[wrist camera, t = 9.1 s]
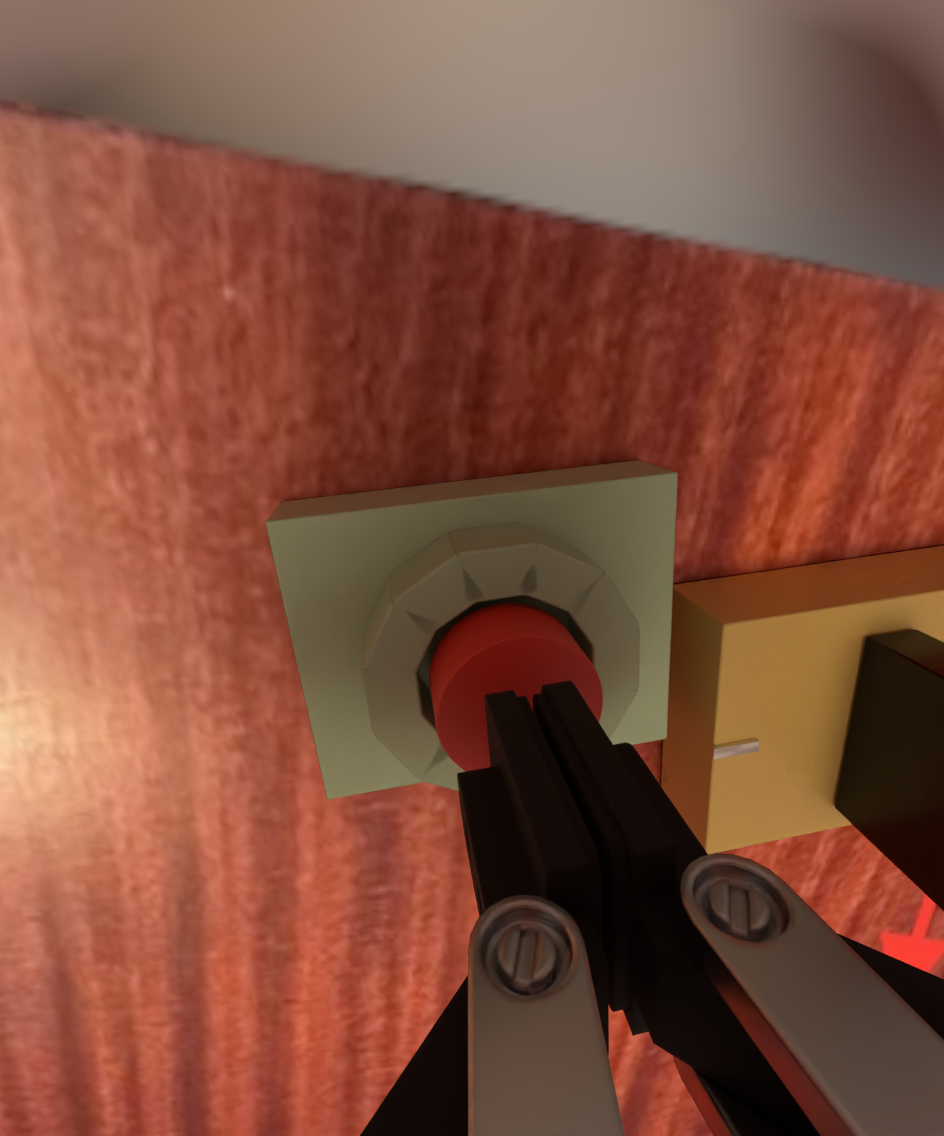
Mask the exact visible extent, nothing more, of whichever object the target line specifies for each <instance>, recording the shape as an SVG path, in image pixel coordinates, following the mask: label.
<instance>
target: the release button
mask: <svg viewBox="0 0 944 1136" xmlns="http://www.w3.org/2000/svg"><path fill="white" fill-rule="evenodd" d="M563 681H572V682H573V683H574V685H575V686H576V688H577V689H578V691H579V692H580V694H581V696H582V697H583V699H584V700H585V702H586V703H587V705H588V706H589V708H590V710H591V711H592V713H593V714H594V716H595V717H596V719H597V720H598V722H599V721H600V718H601V713H602V707H603V692H602V686H601V682H600V678H599V676H598V674H597V671H596V670H595V668H594V666H593V665H592V663H591V662H590V660H589V659H588V658H587V656H586V655H585V653H584V652H583V651H582V649H581V648H580V647H579V645H578V644H577V643H576V641H575V640H574V638H573V637H572V636H571V634H570V633H569V632H568V630H567V629H566V628H565V627H564V625H563V624H562V623H561V622H560V621H559V620H558V619H556V618H555V617H554V616H552V615H551V614H549V613H548V612H546V611H544V610H542V609H540V608H537V607H534V606H531V605H526V604H520V603H503V604H496V605H491V606H487V607H484V608H481V609H479V610H477V611H474V612H472V613H470V614H469V615H467V616H465V617H464V618H462V619H461V620H460V621H458V622H457V623H456V624H455V625H453V627H452V628H451V629H450V630H449V631H448V632H447V633H446V634H445V635H444V637H443V638H442V639H441V641H440V642H439V644H438V646H437V648H436V650H435V652H434V655H433V657H432V661H431V665H430V672H429V683H430V691H431V697H432V704H433V710H434V716H435V723H436V728H437V733H438V737H439V740H440V742H441V745H442V747H443V748H444V750H445V752H446V753H447V755H448V756H449V757H450V758H451V760H452V761H453V762H455V763H456V764H457V765H458V766H459V767H460V768H461V769H463V770H464V771H471V770H477V769H482V768H488V767H491V766H490V755H489V744H488V733H487V723H486V712H485V694H491V693H497V692H503V691H509V690H514V692H515V694H516V696H517V697H520V696H526V697H527V699H528V701H529V703H530V706H531V708H532V710H533V695H534V694H538V693H541V688H542V686H543V685H545V684H551V683H557V682H563Z"/></svg>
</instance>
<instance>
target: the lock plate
mask: <svg viewBox="0 0 944 1136" xmlns="http://www.w3.org/2000/svg"><path fill="white" fill-rule="evenodd" d="M914 629H916V630H919V631H921V632H923V633H926V634H928V635H930V636H932V637H934V638H936V639H938V640H940V641H942V642H944V545H943V546H937V547H930V548H923V549H916V550H909V551H902V552H895V553H888V554H881V555H875V556H868V557H861V558H854V559H847V560H840V561H833V562H826V563H819V564H813V565H806V566H799V567H792V568H785V569H778V570H771V571H764V572H757V573H751V574H744V575H737V576H730V577H723V578H716V579H709V580H702V581H695V582H689V583H682V584H675V585H673V597H672V620H671V644H670V668H669V692H668V716H667V738H666V739H663V748H662V774H661V787H662V789H663V790H664V792H665V793H666V794H667V796H668V797H669V799H670V800H671V802H672V803H673V805H674V806H675V807H676V809H677V810H678V812H679V813H680V815H681V816H682V818H683V819H684V820H685V822H686V823H687V825H688V826H689V828H690V829H691V831H692V832H693V833H694V835H695V836H696V838H697V839H698V841H699V842H700V844H701V845H702V846H703V848H704V849H705V851H706V852H707V854H713V853H717V852H722V851H727V850H732V849H737V848H742V847H746V846H751V845H756V844H761V843H766V842H770V841H775V840H780V839H785V838H790V837H794V836H799V835H804V834H809V833H814V832H819V831H823V830H828V829H833V828H838V827H843V826H847V825H852V824H851V823H850V822H849V821H848V820H847V819H846V818H845V817H844V816H843V815H842V814H841V813H840V812H839V811H838V810H837V809H836V808H835V800H836V795H837V790H838V784H839V779H840V774H841V768H842V763H843V758H844V752H845V747H846V742H847V737H848V731H849V726H850V721H851V715H852V710H853V705H854V699H855V694H856V689H857V684H858V678H859V673H860V668H861V662H862V657H863V652H864V646H865V641H866V638H867V637H869V636H875V635H882V634H888V633H895V632H901V631H908V630H914Z"/></svg>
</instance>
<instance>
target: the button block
mask: <svg viewBox="0 0 944 1136" xmlns="http://www.w3.org/2000/svg"><path fill="white" fill-rule="evenodd" d="M677 477H678V474H677V472H674V471H671V470H668V469H665V468H661V467H658V466H655V465H652V464H649V463H646V462H643V461H640V460H635V461H627V462H618V463H610V464H601V465H592V466H584V467H575V468H567V469H558V470H549V471H541V472H532V473H524V474H515V475H506V476H498V477H489V478H481V479H472V480H463V481H455V482H446V483H438V484H429V485H420V486H412V487H403V488H394V489H386V490H377V491H369V492H360V493H351V494H343V495H334V496H326V497H317V498H308V499H300V500H291V501H283V502H281V504H280V505H279V506H278V507H277V509H276V510H275V511H274V512H273V514H272V515H271V516H270V517H269V519H268V520H267V521H266V528H267V532H268V537H269V541H270V546H271V550H272V555H273V559H274V564H275V568H276V573H277V577H278V582H279V586H280V591H281V595H282V600H283V604H284V609H285V613H286V618H287V622H288V626H289V631H290V635H291V640H292V644H293V649H294V653H295V658H296V662H297V667H298V671H299V676H300V680H301V685H302V689H303V694H304V698H305V703H306V707H307V712H308V716H309V721H310V725H311V730H312V734H313V739H314V743H315V748H316V752H317V757H318V761H319V765H320V770H321V774H322V779H323V783H324V788H325V792H326V797H327V799H333V798H339V797H344V796H350V795H356V794H361V793H367V792H372V791H378V790H383V789H389V788H394V787H400V786H406V785H411V784H417V783H422V782H427V783H430V784H434V785H438V786H441V787H445V788H449V789H453V790H456V791H459V789H458V780H457V773H460V772H466V771H464V770H463V769H461V768H460V767H459V766H458V765H457V764H456V763H455V762H453V761H452V760H451V758H450V757H449V756H448V755H447V753H446V752H445V750H444V748H443V747H442V745H441V742H440V740H439V737H438V733H437V728H436V723H435V716H434V710H433V704H432V697H431V691H430V683H429V672H430V665H431V661H432V657H433V655H434V652H435V650H436V648H437V646H438V644H439V642H440V641H441V639H442V638H443V637H444V635H445V634H446V633H447V632H448V631H449V630H450V629H451V628H452V627H453V625H455V624H456V623H457V622H458V621H460V620H461V619H462V618H464V617H465V616H467V615H469V614H470V613H472V612H474V611H477V610H479V609H481V608H484V607H487V606H491V605H496V604H503V603H520V604H526V605H531V606H534V607H537V608H540V609H542V610H544V611H546V612H548V613H549V614H551V615H552V616H554V617H555V618H556V619H558V620H559V621H560V622H561V623H562V624H563V625H564V627H565V628H566V629H567V630H568V632H569V633H570V634H571V636H572V637H573V638H574V640H575V641H576V643H577V644H578V645H579V647H580V648H581V649H582V651H583V652H584V653H585V655H586V656H587V658H588V659H589V660H590V662H591V663H592V665H593V666H594V668H595V670H596V671H597V674H598V676H599V678H600V682H601V686H602V692H603V707H602V713H601V718H600V721H599V724H600V725H601V727H602V728H603V730H604V731H605V733H606V735H607V736H608V738H609V739H610V741H611V742H612V744H613V745H614V744H619V743H625V742H627V743H629V744H631V745H634V744H639V743H645V742H651V741H656V740H662V739H666V738H667V716H668V692H669V668H670V644H671V620H672V597H673V573H674V549H675V525H676V501H677Z"/></svg>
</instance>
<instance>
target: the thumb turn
mask: <svg viewBox="0 0 944 1136" xmlns="http://www.w3.org/2000/svg"><path fill="white" fill-rule="evenodd" d="M835 808H836V809H837V810H838V811H839V812H840V813H841V814H842V815H843V816H844V817H845V818H846V819H847V820H848V821H849V822H850V823H851V824H852V825H853V826H854V827H856V828H857V829H858V830H859V831H860V832H861V833H862V834H863V835H864V836H865V837H866V838H867V839H868V840H869V841H870V842H871V843H872V844H873V845H874V846H876V847H877V848H878V849H879V850H880V851H881V852H882V853H883V854H884V855H885V856H886V857H887V858H888V859H889V860H890V861H891V862H892V863H893V864H894V865H896V866H897V867H898V868H899V869H900V870H901V871H902V872H903V873H904V874H905V875H906V876H907V877H908V878H909V879H910V880H911V881H912V882H913V883H914V884H916V885H917V886H918V887H919V888H920V889H921V890H922V891H923V892H924V893H925V894H926V895H927V896H928V897H929V898H930V899H931V900H932V901H933V902H934V903H936V904H937V905H938V906H939V907H940V908H941V909H942V910H943V911H944V642H942V641H940V640H938V639H936V638H934V637H932V636H930V635H928V634H926V633H923V632H921V631H919V630H916V629H914V630H908V631H901V632H895V633H888V634H882V635H875V636H869V637H867V638H866V641H865V646H864V652H863V657H862V662H861V668H860V673H859V678H858V684H857V689H856V694H855V699H854V705H853V710H852V715H851V721H850V726H849V731H848V737H847V742H846V747H845V752H844V758H843V763H842V768H841V774H840V779H839V784H838V790H837V795H836V800H835Z"/></svg>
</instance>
